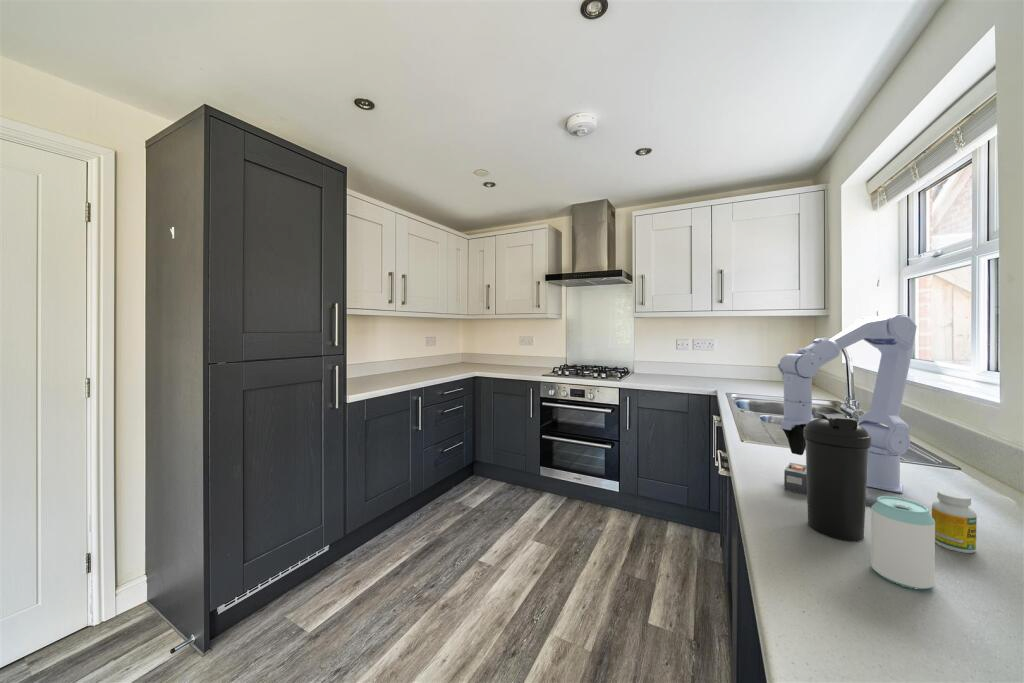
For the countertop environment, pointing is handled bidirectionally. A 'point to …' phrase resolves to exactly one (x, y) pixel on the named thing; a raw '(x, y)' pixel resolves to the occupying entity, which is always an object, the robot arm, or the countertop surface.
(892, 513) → the can
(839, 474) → the water bottle
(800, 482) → the cabinet
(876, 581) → the countertop surface
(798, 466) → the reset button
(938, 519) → the supplement bottle
